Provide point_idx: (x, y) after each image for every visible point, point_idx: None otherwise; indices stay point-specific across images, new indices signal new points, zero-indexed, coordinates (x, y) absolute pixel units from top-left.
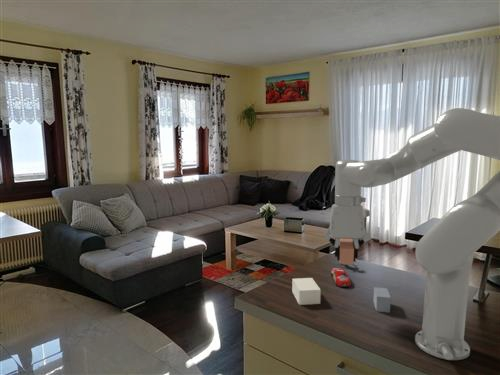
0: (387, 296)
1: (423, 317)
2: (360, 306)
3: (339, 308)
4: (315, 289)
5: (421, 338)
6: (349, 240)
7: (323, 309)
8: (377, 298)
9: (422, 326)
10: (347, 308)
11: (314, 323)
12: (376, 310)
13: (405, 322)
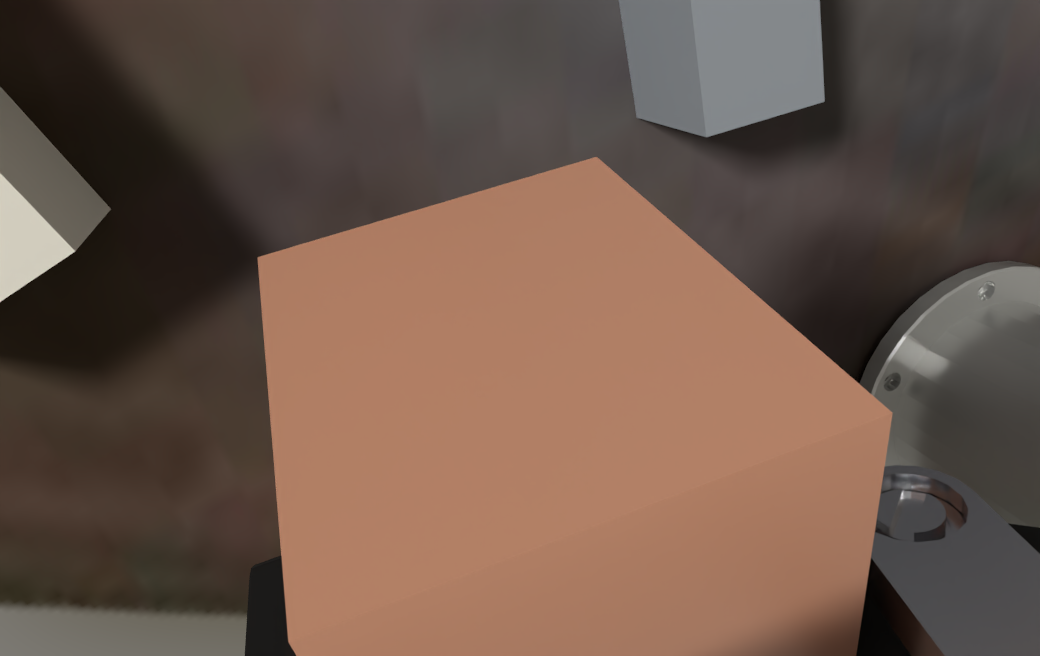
0: (799, 88)
1: (1009, 500)
2: (500, 80)
3: (328, 218)
4: (8, 277)
5: (893, 421)
6: (760, 567)
7: (196, 311)
8: (700, 132)
9: (953, 454)
10: (397, 182)
11: (226, 555)
12: (641, 117)
13: (828, 203)
